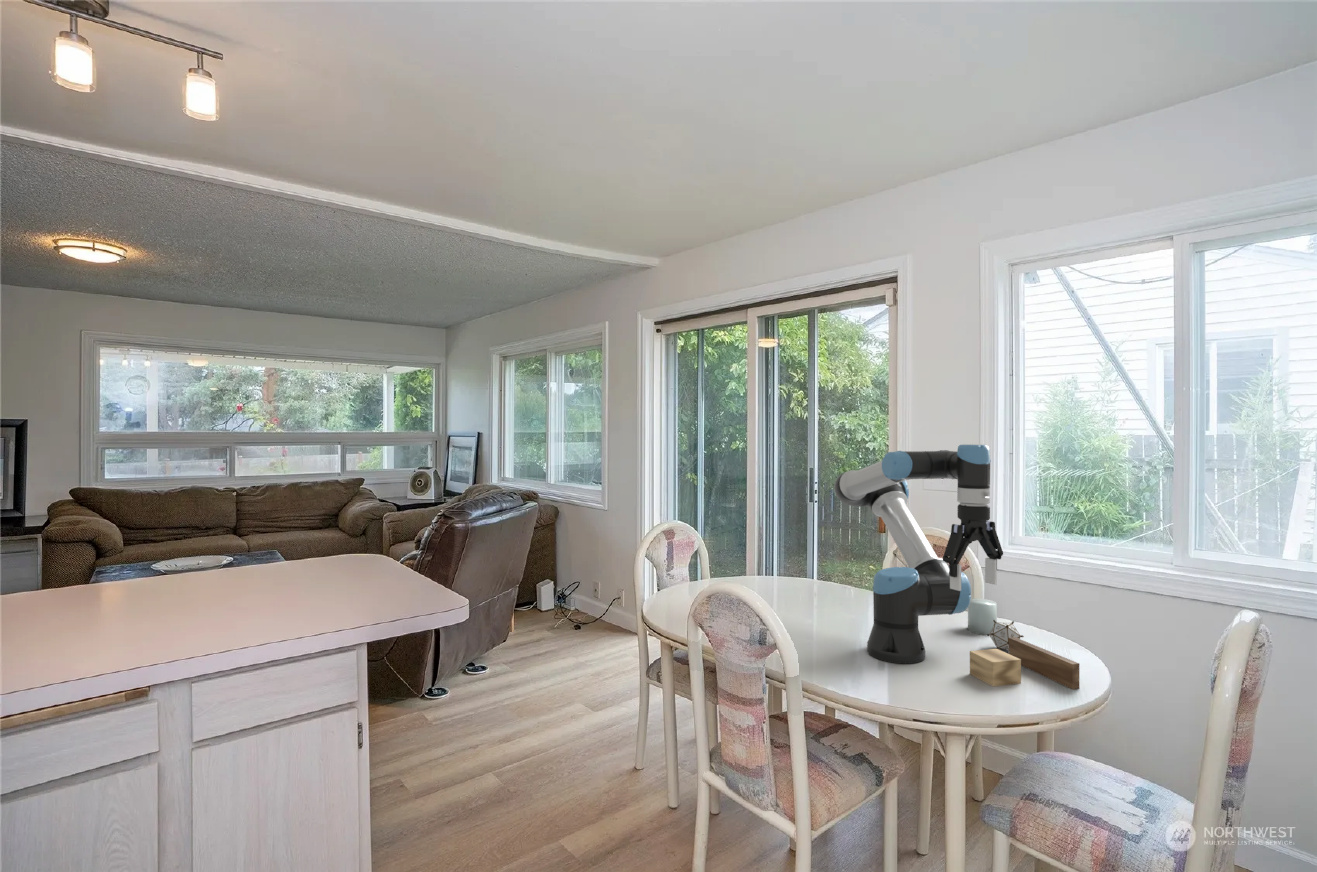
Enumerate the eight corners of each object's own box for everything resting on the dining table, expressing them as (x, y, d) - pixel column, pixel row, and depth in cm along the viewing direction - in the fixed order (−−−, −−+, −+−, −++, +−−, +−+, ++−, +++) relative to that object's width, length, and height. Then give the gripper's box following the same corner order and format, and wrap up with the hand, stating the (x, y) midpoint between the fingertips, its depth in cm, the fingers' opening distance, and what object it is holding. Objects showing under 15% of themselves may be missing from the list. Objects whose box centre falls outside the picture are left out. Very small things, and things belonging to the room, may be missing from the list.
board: (1072, 689, 151) (1072, 664, 151) (1008, 659, 170) (1008, 637, 170) (1079, 688, 151) (1079, 663, 151) (1015, 659, 171) (1014, 637, 171)
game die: (1007, 661, 180) (1025, 631, 181) (1015, 660, 172) (1034, 629, 173) (977, 641, 183) (994, 612, 185) (983, 639, 176) (1001, 609, 177)
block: (993, 686, 153) (993, 662, 153) (969, 674, 161) (969, 651, 161) (1020, 683, 155) (1020, 659, 155) (996, 671, 163) (996, 648, 163)
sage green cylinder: (980, 635, 191) (980, 606, 190) (962, 627, 198) (962, 599, 198) (1002, 633, 192) (1002, 604, 192) (983, 626, 200) (983, 597, 200)
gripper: (953, 508, 154) (953, 595, 154) (1018, 503, 165) (1018, 584, 165) (927, 505, 160) (927, 588, 161) (991, 500, 172) (991, 578, 172)
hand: (973, 586), depth 163 cm, fingers open, 13 cm apart
